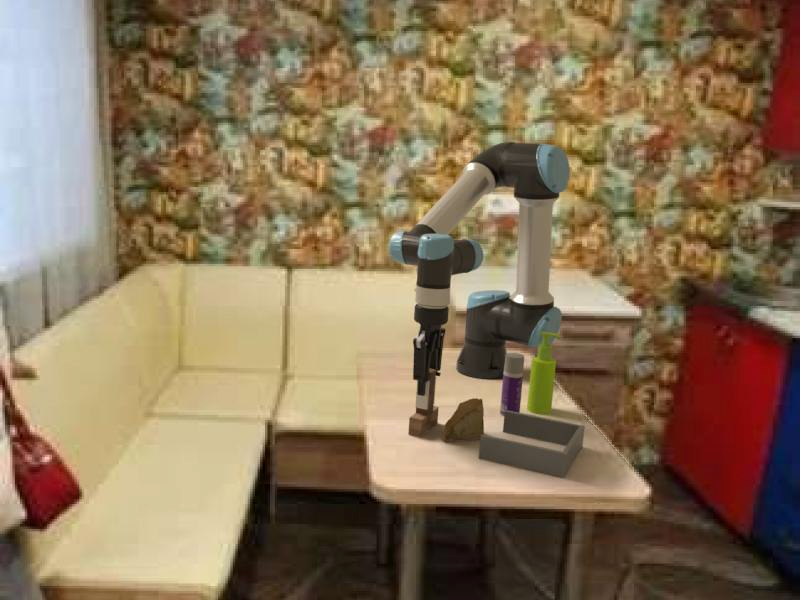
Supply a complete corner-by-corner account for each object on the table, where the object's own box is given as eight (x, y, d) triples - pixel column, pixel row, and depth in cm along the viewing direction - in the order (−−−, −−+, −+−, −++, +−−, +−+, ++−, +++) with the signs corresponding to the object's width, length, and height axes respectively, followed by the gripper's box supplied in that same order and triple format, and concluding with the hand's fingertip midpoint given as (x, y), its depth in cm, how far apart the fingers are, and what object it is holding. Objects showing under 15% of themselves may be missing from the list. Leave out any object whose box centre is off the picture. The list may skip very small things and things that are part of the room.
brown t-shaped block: (425, 420, 185) (429, 363, 182) (437, 423, 184) (441, 365, 181) (408, 434, 176) (412, 374, 173) (420, 437, 175) (424, 377, 172)
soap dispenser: (549, 417, 192) (557, 337, 188) (523, 410, 196) (530, 332, 191) (558, 410, 197) (566, 333, 193) (532, 404, 200) (539, 328, 196)
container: (518, 418, 190) (524, 359, 186) (499, 416, 191) (504, 356, 187) (519, 412, 194) (525, 353, 191) (500, 409, 195) (505, 351, 192)
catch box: (504, 430, 182) (506, 410, 181) (582, 447, 175) (584, 425, 174) (478, 458, 166) (480, 435, 165) (563, 477, 159) (566, 454, 158)
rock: (438, 437, 170) (484, 435, 169) (437, 398, 174) (482, 396, 172) (442, 449, 180) (486, 447, 179) (440, 413, 183) (484, 411, 182)
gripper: (430, 296, 182) (423, 392, 188) (401, 308, 168) (394, 413, 173) (460, 300, 180) (453, 398, 185) (433, 314, 165) (426, 419, 170)
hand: (424, 405), depth 179 cm, fingers closed on brown t-shaped block, 3 cm apart
